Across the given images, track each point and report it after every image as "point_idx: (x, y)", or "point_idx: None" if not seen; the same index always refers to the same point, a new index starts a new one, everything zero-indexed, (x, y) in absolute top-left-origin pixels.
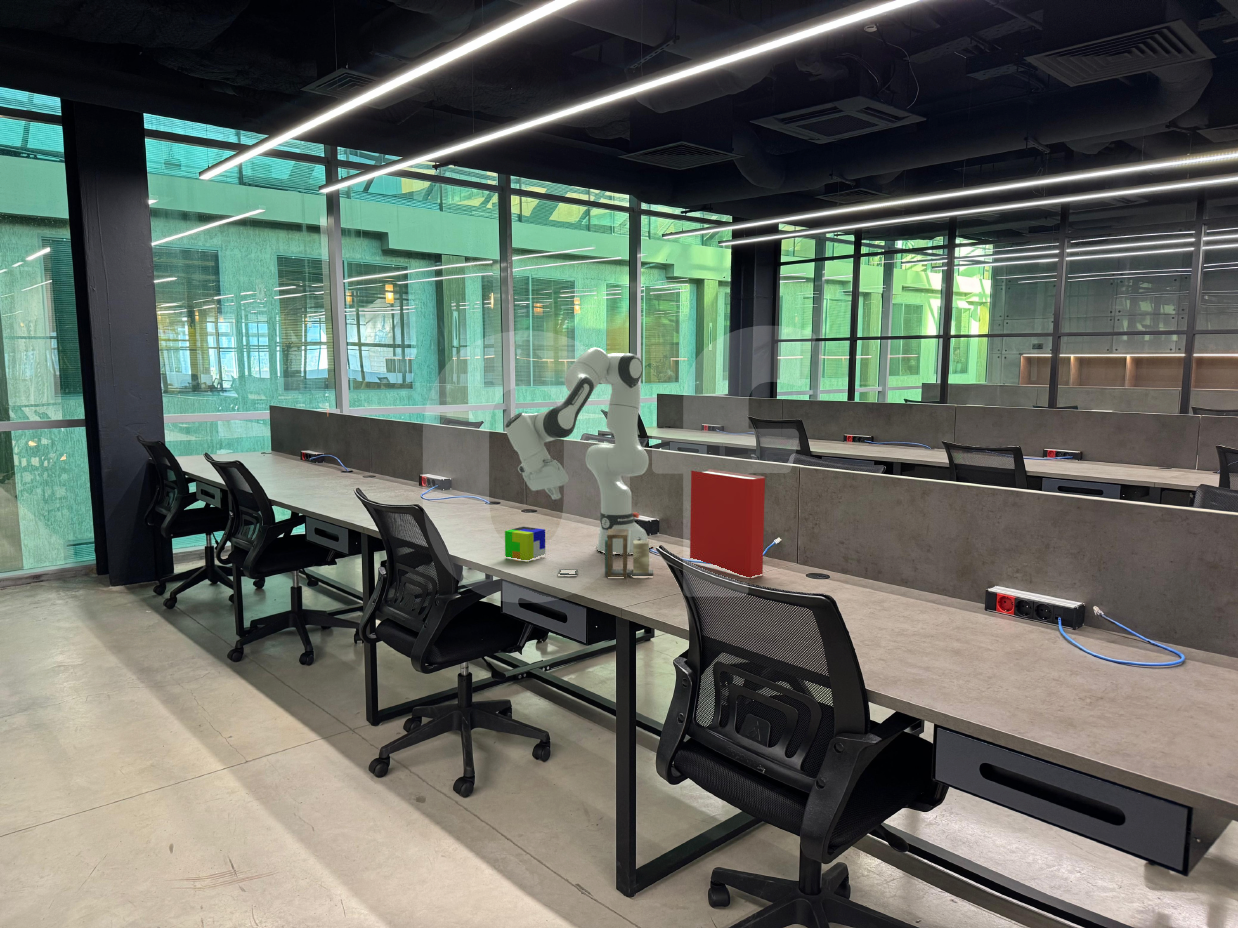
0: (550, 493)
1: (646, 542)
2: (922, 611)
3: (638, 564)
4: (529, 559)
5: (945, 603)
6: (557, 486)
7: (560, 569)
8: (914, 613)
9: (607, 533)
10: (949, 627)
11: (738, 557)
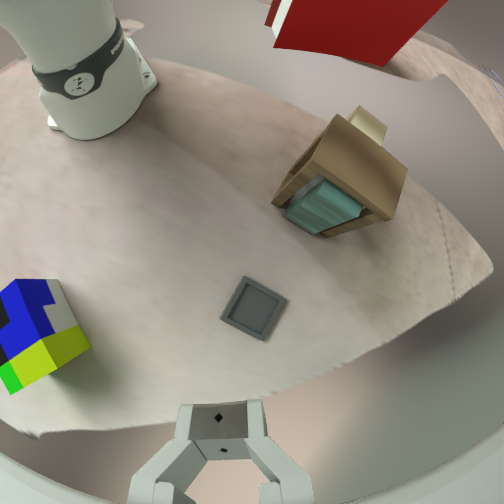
0: (195, 472)
1: (376, 123)
2: (471, 79)
3: None
4: (84, 341)
5: (455, 54)
6: (312, 488)
7: (223, 318)
8: (474, 86)
9: (377, 207)
10: (491, 102)
11: (387, 48)
